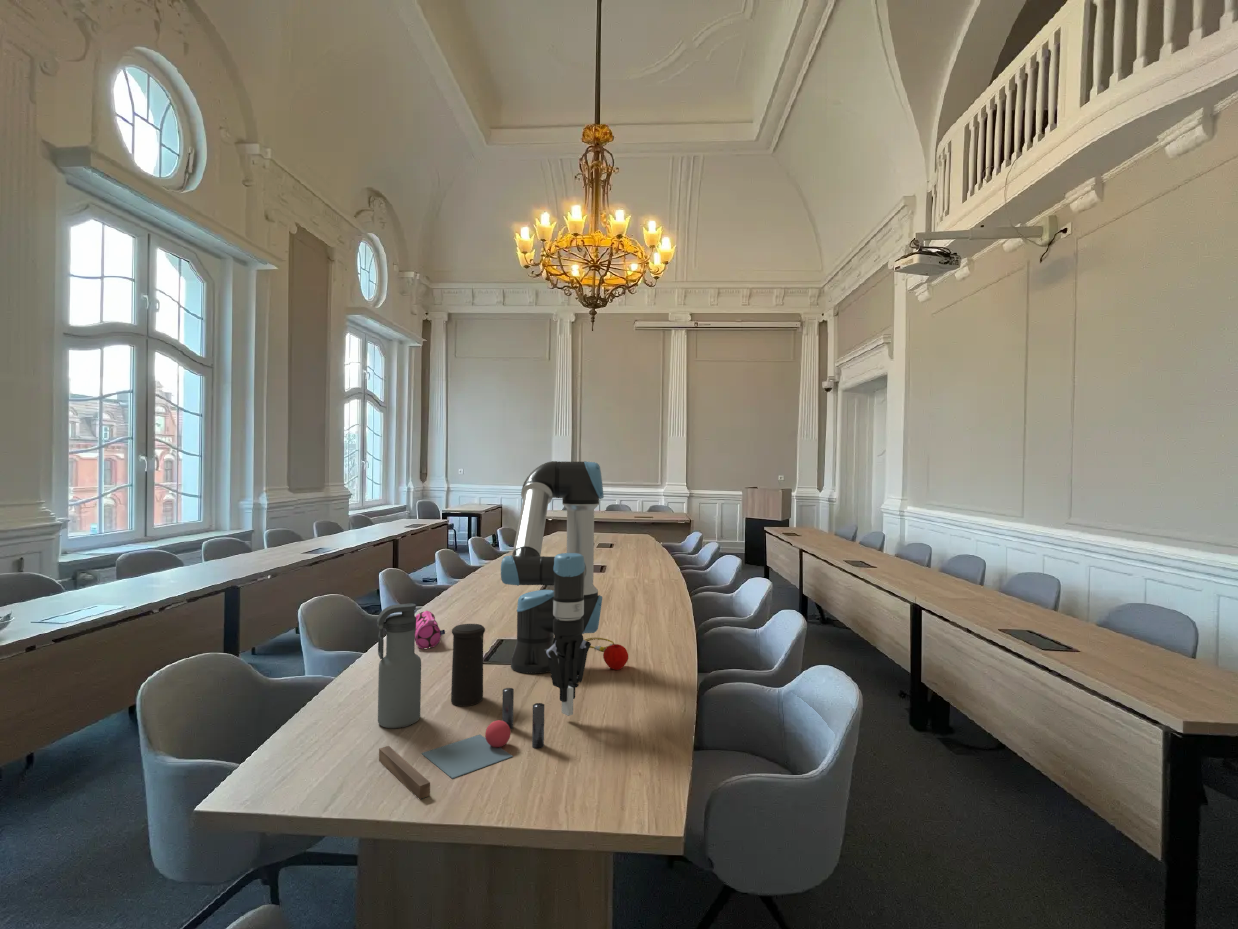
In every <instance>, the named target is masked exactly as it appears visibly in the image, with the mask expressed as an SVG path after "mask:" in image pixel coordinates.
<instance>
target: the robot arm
mask: <svg viewBox="0 0 1238 929" xmlns="http://www.w3.org/2000/svg"><path fill="white" fill-rule="evenodd" d="M601 470H602V469H601V465H600V464H599V463H597V462H595V461H586V460H584V461H558V460H557V461H556V460H553V461H551V460H550V461H548V462H545V463H543V464H541V465H539V466H537V467H535V469H533V470H532V471H531V472H530V474H529V475H528V476H526V478H525V480H524V482H523V484H522V488H521V492H520V496H521V499H522V503H521V510H520V515H519V519H518V523H517V529H516V534H515V538H514V544H513V549H512V554H510V555H505V556H503V558H502V559H501V563H500V580H501V581H502V583H503V584H504V585H510V586H518V587H519V586H553V590H552V589H538V590H532V591H529V592H525V593H522V594H521V595H519V597H518V600H517V609H516V614H517V615H516V616H517V617H516V643H515V646H514V650H513V652H512V656H511V659H510V668H511V670H513V671H515V672H517V673H522V674H542V673H548V672H550V673H549V674H550V677H551V682H552V685H553V686H554V687H556V688H559V701H560V702H561V714H563V715H565V716H566V717H570V716H572V715H574V700H575V699H576V688H578V687H579V686H580V685H579V684H578V683H581V682H583V679H584V674H585V669H586V662H587V658H588V653H589V650H590V646H592V643H591V642H590V641H589V640H588V641H586V640H585V639H584V636H583V635H584V634H594V633H597V631H598V629H599V625H600V617H601V611H602V603H603V595H600V594H599V589H598V588H597V587H596V586H595V585H594V571H595V570H594V567H595V566H594V565H595V564H594V560H595V558H594V555H595V554H594V553H595V550H594V549H595V548H594V547H595V509H596V508H597V507H598V506H599V505H600V500H602V499H604V496H605V495H604V486H603V478H602V472H601ZM553 499H562V500H561V501H562V506H564V508H565V509H566V552H562V553H558V554H556V555H555V556H547V555H546V556H543V555H542V556H541V553H542V547H543V541H544V533H545V529H546V528H545V527H546V520H547V513H548V507H549V505H550V503H551V502H552V500H553Z"/></svg>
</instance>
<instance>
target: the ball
mask: <svg viewBox="0 0 1238 929" xmlns="http://www.w3.org/2000/svg"><path fill="white" fill-rule="evenodd" d="M511 732H512V731H511V730H510V727H509V726H508V724H507V723H506V722H504V721H502V720H501V719H500V720H499V719H498V720H494V721H492V722H490V724H488V725H487V727H486V730H485V734H484V735H485V736H484V737H485V738H486V741H487V742H488V744H489V745H491V746H492V747H500V748H502V747H503V746H505V745H506V744H507V743H508V742H509V740H510V738H511V735H512V734H511Z"/></svg>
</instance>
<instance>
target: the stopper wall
mask: <svg viewBox="0 0 1238 929" xmlns="http://www.w3.org/2000/svg"><path fill="white" fill-rule="evenodd" d="M378 762H379V763H381V764H382V765H383V766H384V767H385V768H386V769H387V770H388V771H389V772H390V773H391V774H392V775H393V776H394V777H395V778H397V779H398V781H399V782H401V783H402V784H403V786H405V787H406V788H407V789H408V790H409V791H410V792H411V791H412V792H413V793H414V794H415V795H416V796H417V797H418V798H419V799H420V800H422V799H421V798H423V799H425V798H424V797H426V798H428V797H430V796H431V781H429V780H428V779H427V778H426V777H425V776H424V775H422V774H421V773H420V771H418V770H417V769H415V767H413V766H412V765H411V764H410V763H409V762H407V760H406V759H404V758H403V757H402V756H401V755H400V754H399V753H398V752H396V751H395V750H394V749H393V748H392V747H391V746H390V745H387V746H384V747H380V748H379V749H378ZM412 792H411V793H412ZM413 793H412V794H413ZM414 794H413V795H414ZM415 795H414V796H415ZM416 796H415V797H416ZM417 797H416V798H417ZM418 798H417V799H418ZM419 799H418V800H419Z"/></svg>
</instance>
